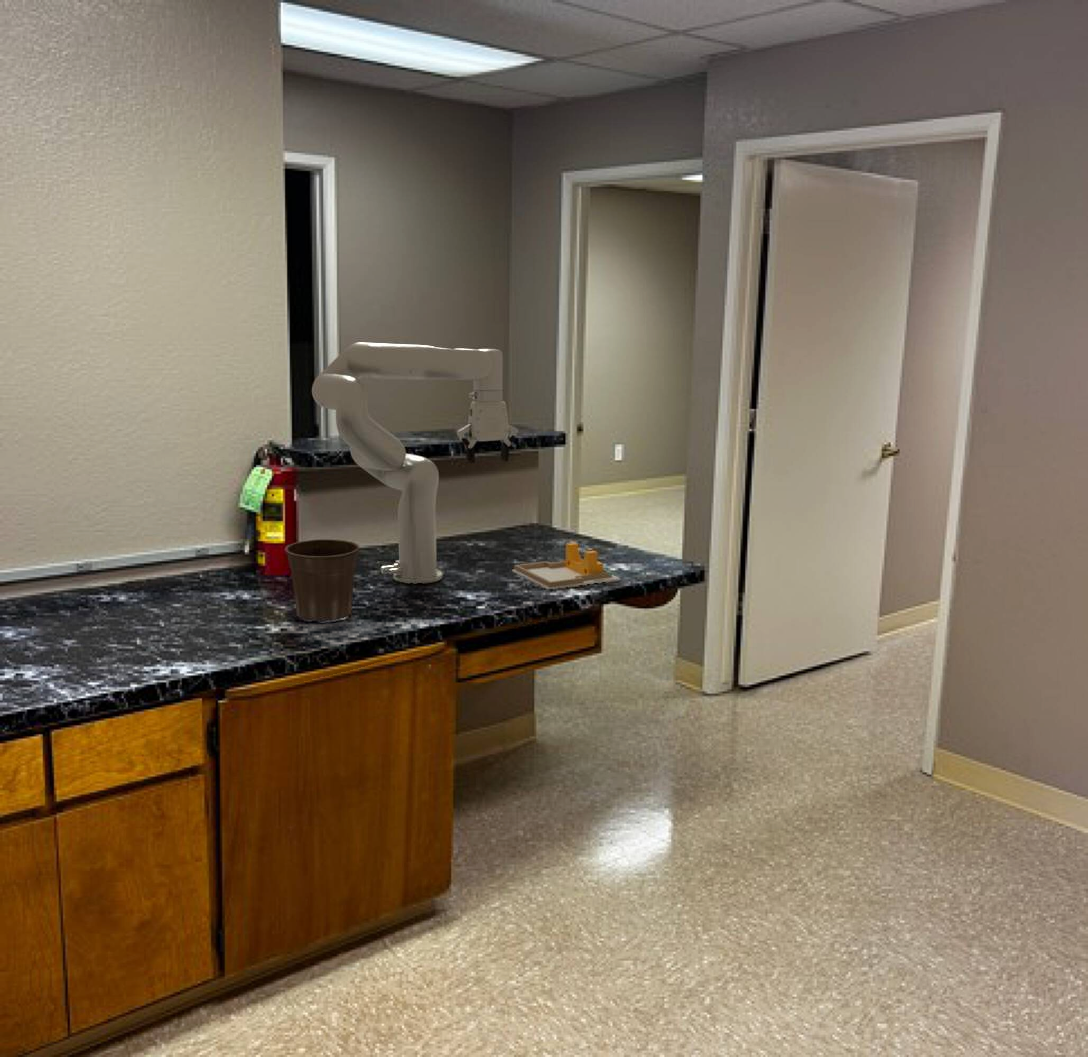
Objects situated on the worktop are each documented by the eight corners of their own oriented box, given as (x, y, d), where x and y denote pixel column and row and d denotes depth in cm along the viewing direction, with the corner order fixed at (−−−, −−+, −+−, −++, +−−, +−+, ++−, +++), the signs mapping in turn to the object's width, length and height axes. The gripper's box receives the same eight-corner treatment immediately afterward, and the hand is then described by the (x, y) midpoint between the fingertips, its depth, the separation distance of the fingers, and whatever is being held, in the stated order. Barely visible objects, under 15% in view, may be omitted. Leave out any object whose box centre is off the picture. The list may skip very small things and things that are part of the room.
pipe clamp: (602, 575, 278) (603, 551, 277) (588, 577, 276) (588, 553, 275) (579, 565, 288) (580, 541, 287) (565, 567, 286) (566, 543, 285)
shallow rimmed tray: (547, 590, 266) (547, 583, 266) (512, 571, 284) (512, 565, 283) (620, 580, 276) (620, 573, 276) (581, 563, 293) (581, 556, 293)
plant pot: (375, 616, 244) (373, 547, 240) (314, 632, 232) (312, 559, 229) (334, 602, 255) (331, 535, 251) (274, 616, 244) (271, 546, 240)
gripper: (463, 399, 274) (463, 465, 278) (523, 397, 282) (523, 461, 286) (451, 396, 281) (452, 461, 284) (511, 394, 289) (511, 457, 292)
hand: (487, 461), depth 285 cm, fingers open, 9 cm apart
